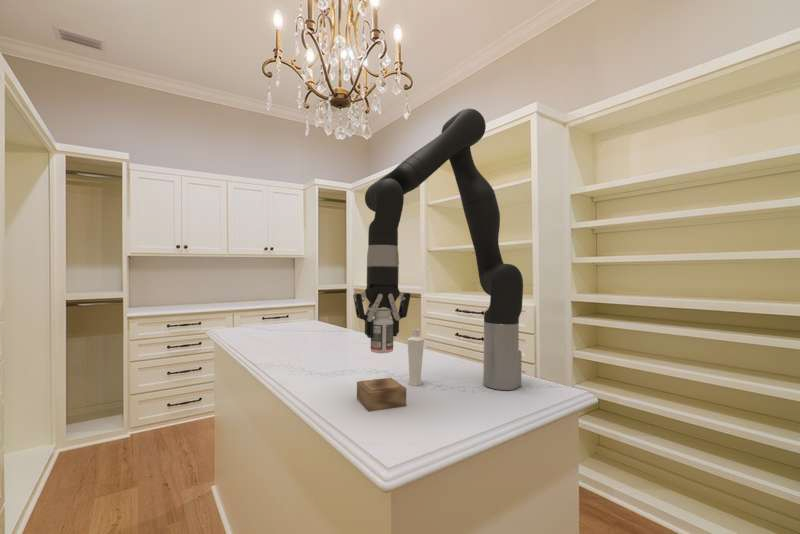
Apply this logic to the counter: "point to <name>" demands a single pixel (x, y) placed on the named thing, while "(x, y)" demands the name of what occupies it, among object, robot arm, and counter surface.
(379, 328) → the pill bottle
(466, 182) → the robot arm
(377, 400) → the base block
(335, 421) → the counter surface
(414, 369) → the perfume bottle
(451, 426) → the counter surface
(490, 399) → the counter surface
